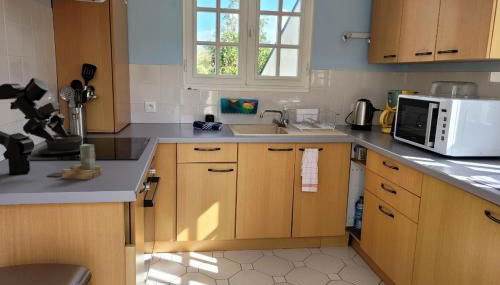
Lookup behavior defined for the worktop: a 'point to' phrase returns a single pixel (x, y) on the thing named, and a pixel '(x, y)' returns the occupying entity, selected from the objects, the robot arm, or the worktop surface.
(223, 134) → the worktop surface
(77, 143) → the casserole
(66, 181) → the worktop surface
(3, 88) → the robot arm
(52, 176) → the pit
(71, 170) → the tunnel
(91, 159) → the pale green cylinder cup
